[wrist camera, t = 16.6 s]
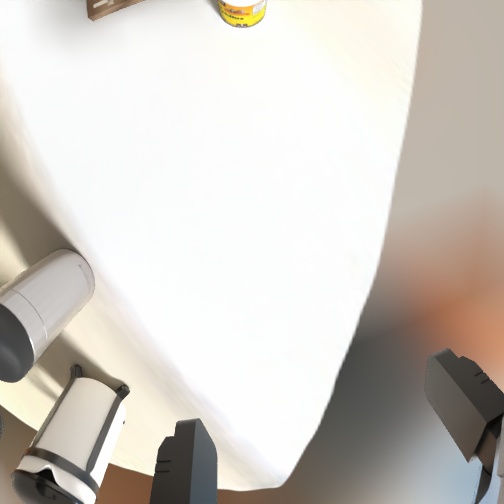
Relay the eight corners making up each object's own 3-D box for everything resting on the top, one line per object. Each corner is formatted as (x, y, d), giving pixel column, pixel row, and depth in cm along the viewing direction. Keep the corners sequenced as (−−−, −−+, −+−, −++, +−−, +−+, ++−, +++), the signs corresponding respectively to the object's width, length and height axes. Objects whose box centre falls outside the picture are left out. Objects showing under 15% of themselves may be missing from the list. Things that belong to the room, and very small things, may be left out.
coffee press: (47, 369, 49) (-28, 484, 20) (108, 356, 47) (30, 505, 18) (96, 431, 54) (51, 545, 25) (158, 425, 52) (124, 564, 24)
